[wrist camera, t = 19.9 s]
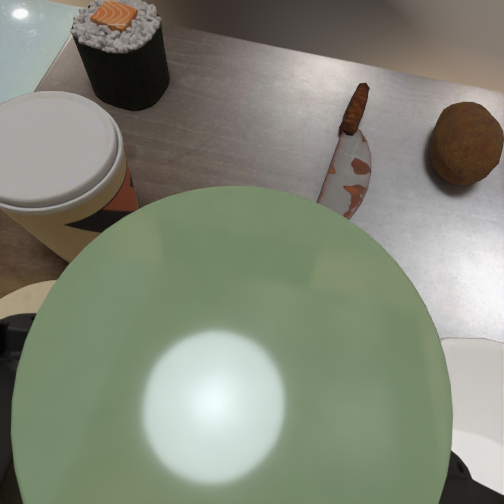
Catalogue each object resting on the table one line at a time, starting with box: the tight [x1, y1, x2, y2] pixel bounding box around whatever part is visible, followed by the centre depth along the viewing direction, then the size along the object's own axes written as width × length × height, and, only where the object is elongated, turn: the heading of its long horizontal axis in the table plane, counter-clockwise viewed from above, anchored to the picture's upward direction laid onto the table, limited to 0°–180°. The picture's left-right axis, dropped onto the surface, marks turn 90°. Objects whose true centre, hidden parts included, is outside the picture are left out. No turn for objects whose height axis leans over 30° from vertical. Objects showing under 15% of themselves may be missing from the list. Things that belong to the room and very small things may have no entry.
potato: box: [430, 102, 504, 185], centre depth 37 cm, size 7×10×6 cm
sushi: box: [70, 0, 169, 110], centre depth 38 cm, size 8×8×8 cm
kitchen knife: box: [317, 83, 371, 219], centre depth 38 cm, size 21×2×5 cm
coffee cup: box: [0, 91, 139, 263], centre depth 28 cm, size 9×9×12 cm
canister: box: [11, 186, 453, 504], centre depth 10 cm, size 6×6×12 cm
